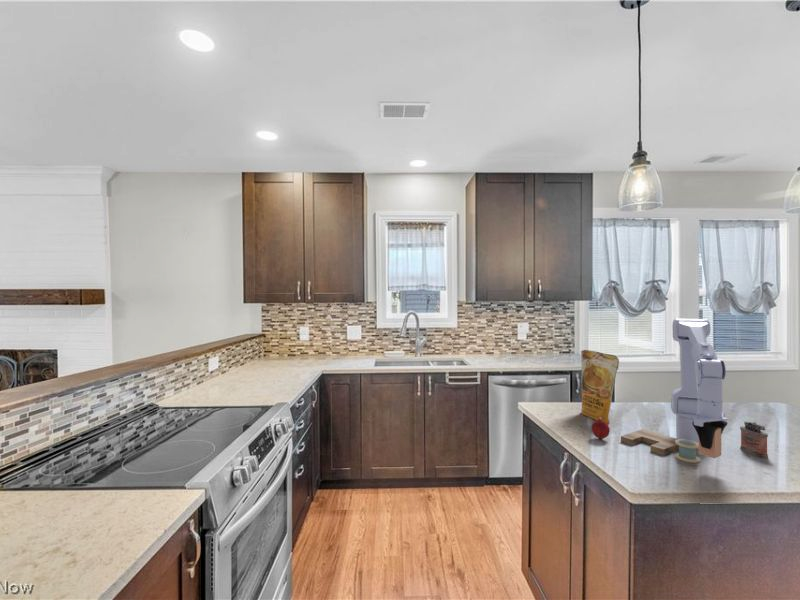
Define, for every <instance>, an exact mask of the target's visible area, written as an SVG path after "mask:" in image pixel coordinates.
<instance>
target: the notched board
mask: <svg viewBox="0 0 800 600" xmlns="http://www.w3.org/2000/svg"><path fill="white" fill-rule="evenodd" d="M673 437H674V436H672V437H671V436H670V435H669V436H668V435H665V434H662V433H658V432H654V431H651V430H648V429H644V428H642V429H638V430H635V431H633V432H629V433H627V434H623V435H621V436H620V442H621V443H623V442H624V444H627V445H630V446H635V445H638V444H640V443H644V444H648V445H649V446H650V452H652V453H655V454H658V455H660V456H667V455H668V454H671V453H674V452H676V451H679V445H677V444H675V440H677V439H676V438H673Z"/></svg>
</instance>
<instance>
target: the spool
mask: <svg viewBox="0 0 800 600" xmlns="http://www.w3.org/2000/svg"><path fill="white" fill-rule="evenodd" d="M675 444H677V445H679V450H678V452H676V453H674V457H675V458H676V459H677V460H679V461H682V462H685V463H690V464H691V463H692V464H697V463H700V462H701V458H700V457H699V456H697V449H699V443H697V442H694V441H691V440H686V439H677V440H675Z"/></svg>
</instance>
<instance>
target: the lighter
mask: <svg viewBox="0 0 800 600" xmlns="http://www.w3.org/2000/svg"><path fill="white" fill-rule="evenodd" d="M743 422H744V425H742V426H740V428H739V430H740V446H739V448H740V450H741V451H743V452H745V453H747V454H749V455H752V456H755V457H757V456H758V458H760V459H768V458H769V455H768V437H769V433H766V432H764V431H766V427H765V426H764V425H761V424H759V423H757V422H755V421H748V420H746V421H743Z"/></svg>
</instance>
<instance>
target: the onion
mask: <svg viewBox="0 0 800 600" xmlns="http://www.w3.org/2000/svg"><path fill="white" fill-rule="evenodd" d="M610 431H611V429H610V426H609V423H606V422H605V421H603V420H602V418H601V417H599V419H598V420H597V421H596V420H594V422H593V423H592V425H591V432H592V434H593V435H594V436H595V437H596V438H597V439H598V440H604V439H605V438H607V437H608V436H609V434H610Z"/></svg>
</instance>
